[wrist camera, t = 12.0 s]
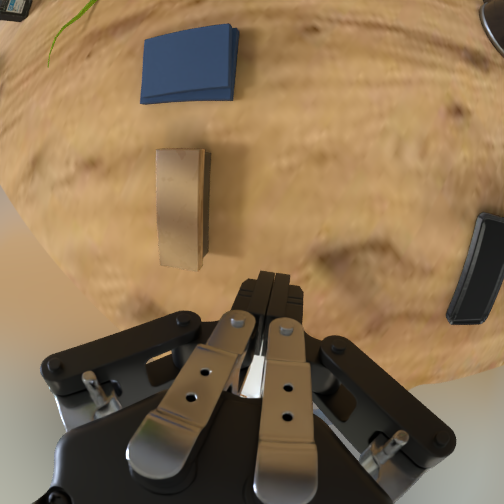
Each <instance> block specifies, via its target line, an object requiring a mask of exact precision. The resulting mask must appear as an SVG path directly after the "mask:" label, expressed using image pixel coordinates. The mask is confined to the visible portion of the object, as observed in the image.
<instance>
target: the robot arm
mask: <svg viewBox="0 0 504 504" xmlns="http://www.w3.org/2000/svg"><path fill="white" fill-rule="evenodd" d="M483 2H484V4H483V5H482V6H481V7H480V9H479V16H480V20H481V23H482V26H483V28H484V30H485V32H486V34H487V36H488V38H489V39H490V41H491V42H492V44H493V45H494V47H495V48H496V49H497V50H498V52H499V53H500V54H501V55H502V56H503V57H504V0H483ZM274 277H275V280H274ZM289 283H290V275H288V274H281V273H276V275H275V273H274V272H267V271H260V273H259V276H258V279H257V280H255V279H247V280H246V281H244V282H243V283H242V285H241V287H240V290H239V292H238V294H237V296H236V299H235V301H234V303H233V306H232V308H231V310H230V311H228V312H226V313H225V314H223V316H222V317H221V319H220V320H219V321H213V322H201V318H200V317H199V315H197V314H196V313H194V312H191V311H178V312H175V313H172V314H169V315H166V316H164V317H161V318H158V319H155V320H152V321H150V322H147V323H144V324H141V325H138V326H136V327H133V328H130V329H127V330H124V331H121V332H119V333H115V334H113V335H110V336H107V337H104V338H101V339H98V340H95V341H92V342H89V343H86V344H83V345H80V346H77V347H74V348H71V349H68V350H65V351H61V352H58V353H55V354H52V355H50V356H48V357H47V358H46V359H44V361H43V362H42V364H41V367H40V372H41V375H42V376H43V378H44V380H45V381H46V383H47V385H48V386H49V389H50V391H51V392H52V394H53V395H54V397H55V398H56V401H57V404H58V408H59V411H60V414H61V418H62V420H63V424H64V427H65V429H66V433H65V434H64V435H63V436H62V438H60V440H59V442H58V443H57V446H56V448H55V454H54V473H53V479H52V483H51V486H50V488H49V490H48V491H47V492H46V493H45V494H44V495H43V496H42V497H41V498H39V499H38V500H37V501H35V502H33V503H32V504H394V503H395V502H396V501H397V500H398V499H399V498H400V497H402V496H403V495H404V493H406V492H407V491H408V490H409V489H410V488H411V487H412V486H413V485H414V484H415V483H416V482H417V481H418V480H419V478H420V477H421V476H422V475H423V474H425V473H426V472H428V471H429V470H430V469H432V468H433V467H434V466H436V465H437V464H438V463H440V462H441V461H442V460H444V459H445V458H446V457H447V456H449V455H450V454H451V453H452V452H453V451H454V449H455V446H456V436H455V434H454V432H453V430H452V429H451V428H450V427H449V426H447V425H446V424H445V423H444V422H443V421H442V420H440V419H439V418H438V417H437V416H436V415H435V414H434V413H432V412H431V411H430V410H429V409H428V408H427V407H426V406H424V405H423V404H422V403H421V402H420V401H419V400H417V399H416V398H415V397H414V396H413V395H412V394H411V393H409V392H408V391H407V390H406V389H405V388H404V387H403V386H401V385H400V384H399V383H398V382H397V381H396V380H395V379H393V378H392V377H391V376H390V375H389V374H388V373H387V372H385V371H384V370H383V369H382V368H381V367H380V366H379V365H377V364H376V363H375V362H374V361H373V360H372V359H371V358H369V357H368V356H367V355H366V354H365V353H364V352H363V351H361V350H360V349H359V348H358V347H357V346H356V345H354V344H353V343H352V342H351V341H350V340H348V339H347V338H345V337H342V336H336V335H334V336H328V337H326V338H324V339H323V340H322V341H321V340H318V339H315V338H313V337H311V336H309V335H308V334H307V333H306V332H305V331H304V328H303V326H302V317H303V293H304V292H303V291H302V289H301V288H300V286H295V285H289ZM262 342H263V345H262ZM261 347H262V352H261V356H264V363H263V370H262V378H261V387H260V396H259V398H243V397H240V394H241V392H242V389H243V387H244V384H245V381H246V379H247V376H248V373H249V371H250V368H251V363H252V361H253V358H254V355H257V356H259V355H260V351H261ZM170 350H171V351H172V354H170V355H167V356H165V357H163V358H160V359H158V360H155V361H153V362H150V363H148V364H146V363H147V361H148V360H149V359H151V358H153V357H156V356H158V355H160V354H163V353H165V352H168V351H170ZM312 401H313V402H314V403H315V404H316V405H317V407H318V408H319V409H320V410H321V411H322V412H323V413H324V414H325V416H326V417H327V418H328V419H329V420H330V421H331V422H332V423H333V425H334V426H335V427H336V428H337V429H338V430H339V431H340V432H341V433H342V434H343V435H344V437H345V438H346V439H347V440H348V441H349V442H350V443H351V444H352V445H353V446H354V447H355V449H356V450H357V451H358V452H359V453H360V454H361V455H360V459H359V461H358V460H357V459H356V458H355V457H354V456H353V455H352V453H351V452H350V451H349V450H348V449H347V448H346V446H345V445H344V444H343V443H342V442H341V440H340V439H339V438H338V437H337V436H336V434H335V433H334V432H333V431H332V430H331V428H330V427H329V426H328V425H327V424H326V423H325V422H324V421H323V420H322V419H321V418H319V417H318V416H316V415H315V414H313V402H312Z"/></svg>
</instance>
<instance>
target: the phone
mask: <svg viewBox="0 0 504 504" xmlns="http://www.w3.org/2000/svg"><path fill="white" fill-rule="evenodd" d="M503 279H504V218H503V217H500V216H496V215H493V214H489V213H485V212H483V213H481V214H480V215H479V216H478V218H477V221H476V225H475V229H474V233H473V237H472V241H471V245H470V248H469V252H468V255H467V258H466V262H465V265H464V268H463V271H462V274H461V277H460V280H459V282H458V285H457V288H456V291H455V293H454V296H453V298H452V301H451V303H450V306H449V308H448V311H447V313H446V318H447V320H448V322H449V323H450V324H452V325H474V324H482V323H483V322H485V320H486V319H487V317H488V315H489V313H490V311H491V309H492V306H493V304H494V302H495V299H496V297H497V295H498V292H499V290H500V287H501V285H502V282H503Z"/></svg>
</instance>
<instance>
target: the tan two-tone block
mask: <svg viewBox="0 0 504 504" xmlns="http://www.w3.org/2000/svg"><path fill="white" fill-rule="evenodd" d="M210 164H211V153H209V152H205V149H191V148H163V149H157V150H156V205H157V229H158V246H159V260H160V266H166V267H172V268H177V269H183V270H189V271H195V272H198V271H199V270H200V269H201V267H202V266H203V258H204V256H205V255H206V254H207V253H208V231H209V190H210Z"/></svg>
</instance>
